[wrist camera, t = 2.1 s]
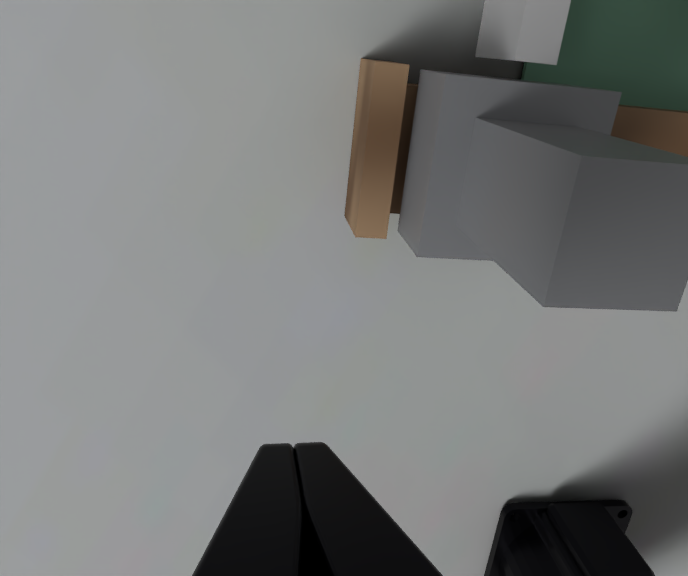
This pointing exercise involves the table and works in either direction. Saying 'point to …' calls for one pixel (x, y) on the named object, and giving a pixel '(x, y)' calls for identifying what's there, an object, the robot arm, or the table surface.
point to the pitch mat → (624, 51)
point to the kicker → (543, 178)
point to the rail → (395, 134)
